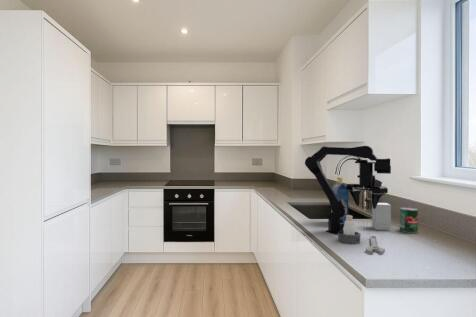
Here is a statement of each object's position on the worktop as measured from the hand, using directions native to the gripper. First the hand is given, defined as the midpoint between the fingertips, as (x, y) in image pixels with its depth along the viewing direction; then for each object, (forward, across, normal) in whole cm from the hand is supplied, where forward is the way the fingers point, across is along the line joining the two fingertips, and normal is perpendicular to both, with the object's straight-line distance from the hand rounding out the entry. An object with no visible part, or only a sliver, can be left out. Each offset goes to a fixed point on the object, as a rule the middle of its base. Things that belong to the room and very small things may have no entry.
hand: (365, 207), depth 143 cm
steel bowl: (+13, -3, +14) cm, 19 cm away
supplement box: (+13, +6, -18) cm, 24 cm away
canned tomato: (+13, -4, -26) cm, 29 cm away
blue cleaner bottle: (+13, +23, -7) cm, 27 cm away
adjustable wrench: (+14, -13, +10) cm, 22 cm away
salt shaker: (+13, -3, +14) cm, 20 cm away
